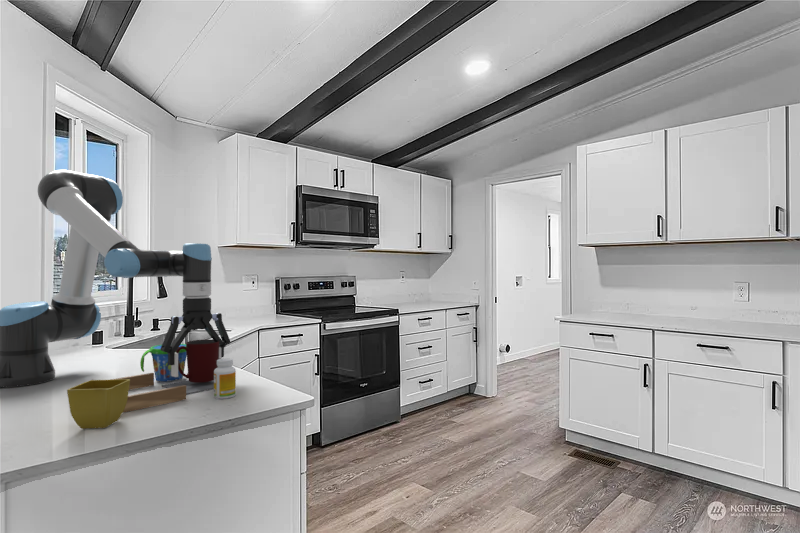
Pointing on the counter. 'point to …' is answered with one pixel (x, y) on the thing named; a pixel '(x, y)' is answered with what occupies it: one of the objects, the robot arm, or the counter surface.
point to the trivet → (192, 386)
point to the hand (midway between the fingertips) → (197, 372)
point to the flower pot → (98, 402)
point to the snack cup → (164, 363)
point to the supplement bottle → (224, 379)
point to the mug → (200, 360)
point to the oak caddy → (151, 393)
